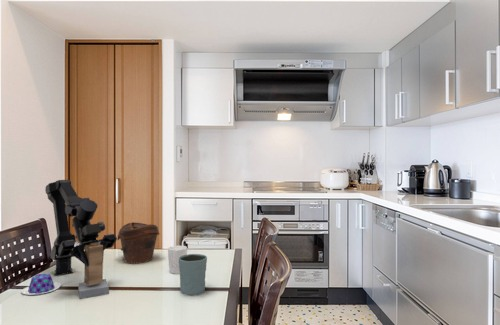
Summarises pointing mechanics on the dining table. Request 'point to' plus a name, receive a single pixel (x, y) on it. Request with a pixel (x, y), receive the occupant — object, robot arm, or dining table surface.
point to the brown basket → (138, 242)
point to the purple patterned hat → (41, 284)
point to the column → (94, 264)
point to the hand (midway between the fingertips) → (95, 264)
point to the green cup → (192, 273)
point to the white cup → (175, 257)
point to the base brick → (93, 289)
